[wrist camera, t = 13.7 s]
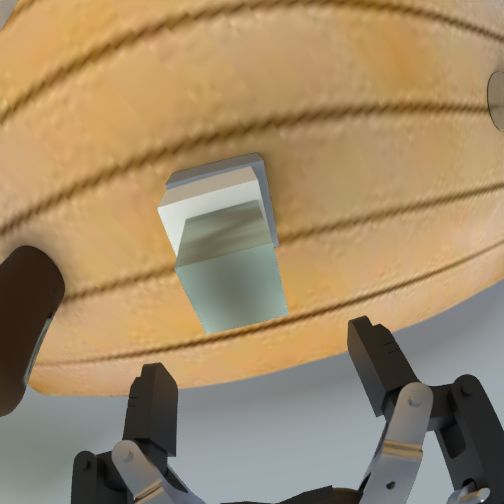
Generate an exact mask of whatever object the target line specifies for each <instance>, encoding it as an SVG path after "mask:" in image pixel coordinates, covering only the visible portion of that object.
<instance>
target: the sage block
mask: <svg viewBox="0 0 504 504" xmlns="http://www.w3.org/2000/svg"><path fill="white" fill-rule="evenodd" d="M175 271H176V273H177V275H178V277H179V279H180V282H181V284H182V286H183V288H184V290H185V292H186V294H187V296H188V298H189V300H190V302H191V304H192V306H193V308H194V310H195V312H196V314H197V316H198V318H199V320H200V322H201V324H202V326H203V328H204V330H205V332H206V334H212V333H217V332H221V331H226V330H230V329H234V328H239V327H243V326H247V325H251V324H255V323H260V322H264V321H267V320H271V319H275V318H279V317H283V316H287V315H289V314H288V309H287V305H286V300H285V295H284V291H283V286H282V282H281V277H280V273H279V268H278V264H277V259H276V255H275V250H274V246H273V242H272V239H271V237H270V234H269V231H268V228H267V226H266V223H265V220H264V217H263V215H262V212H261V209H260V207H259V204H258V201H257V200H253V201H249V202H246V203H242V204H238V205H234V206H231V207H227V208H223V209H220V210H216V211H213V212H209V213H206V214H202V215H199V216H195V217H192V218H188V219H186V220H185V224H184V228H183V233H182V237H181V241H180V246H179V250H178V255H177V259H176V264H175Z"/></svg>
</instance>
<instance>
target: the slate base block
mask: <svg viewBox="0 0 504 504" xmlns="http://www.w3.org/2000/svg"><path fill="white" fill-rule="evenodd" d="M249 166H251V167H252V169H253V171H254V173H255V175H256V177H257V179H258V183H259V187H260V192H261V196H262V200H263V205H264V209H265V213H266V218H267V222H268V226H269V231H270V235H271V239H272V242H273V246H274V248H275V247H279V242H278V237H277V231H276V225H275V220H274V214H273V209H272V203H271V198H270V192H269V187H268V182H267V176H266V171H265V166H264V161H263V159H262V158H261V157H260V155H259V154H258V153H252V154H248V155H243V156H239V157H234V158H230V159H226V160H221V161H217V162H213V163H209V164H205V165H201V166H198V167H194V168H190V169H187V170H183V171H179V172H176V173H172V175H171V176H170V178H169V180H168V181H167V183H166V189H167V190H168V189H171V188H174V187H177V186H181V185H184V184H187V183H190V182H194V181H197V180H201V179H204V178H207V177H211V176H215V175H218V174H222V173H226V172H229V171H233V170H237V169H241V168H245V167H249Z"/></svg>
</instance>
